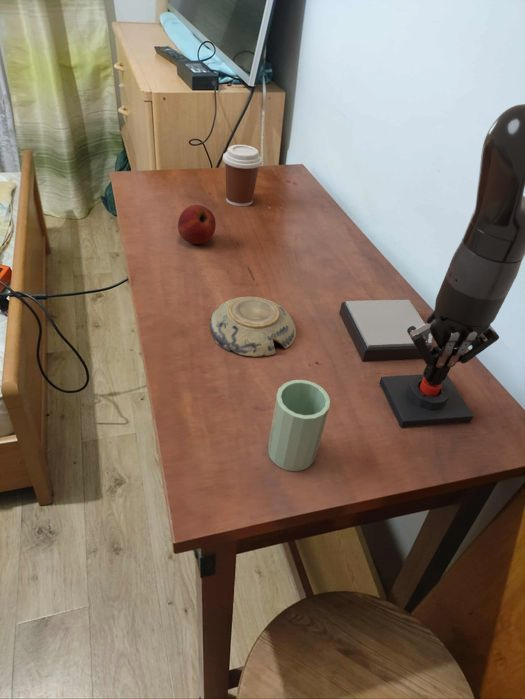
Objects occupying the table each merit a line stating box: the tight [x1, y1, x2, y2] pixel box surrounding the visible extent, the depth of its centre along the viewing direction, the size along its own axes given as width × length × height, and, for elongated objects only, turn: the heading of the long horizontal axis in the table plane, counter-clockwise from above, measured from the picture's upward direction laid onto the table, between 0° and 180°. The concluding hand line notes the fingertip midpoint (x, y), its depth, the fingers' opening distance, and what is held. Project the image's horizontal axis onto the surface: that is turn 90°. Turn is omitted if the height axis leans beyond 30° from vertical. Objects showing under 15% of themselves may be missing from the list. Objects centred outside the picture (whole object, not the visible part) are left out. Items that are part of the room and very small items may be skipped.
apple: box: [177, 204, 217, 245], centre depth 103 cm, size 7×8×8 cm
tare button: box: [420, 377, 442, 396], centre depth 74 cm, size 3×3×2 cm
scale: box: [338, 299, 432, 362], centre depth 87 cm, size 13×13×3 cm
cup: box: [267, 379, 331, 472], centre depth 63 cm, size 6×6×10 cm
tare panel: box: [378, 374, 475, 428], centre depth 75 cm, size 11×9×3 cm
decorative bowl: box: [209, 295, 297, 358], centre depth 84 cm, size 15×4×15 cm
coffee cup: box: [222, 144, 263, 207], centre depth 119 cm, size 9×9×12 cm
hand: (432, 381), depth 73 cm, fingers closed
